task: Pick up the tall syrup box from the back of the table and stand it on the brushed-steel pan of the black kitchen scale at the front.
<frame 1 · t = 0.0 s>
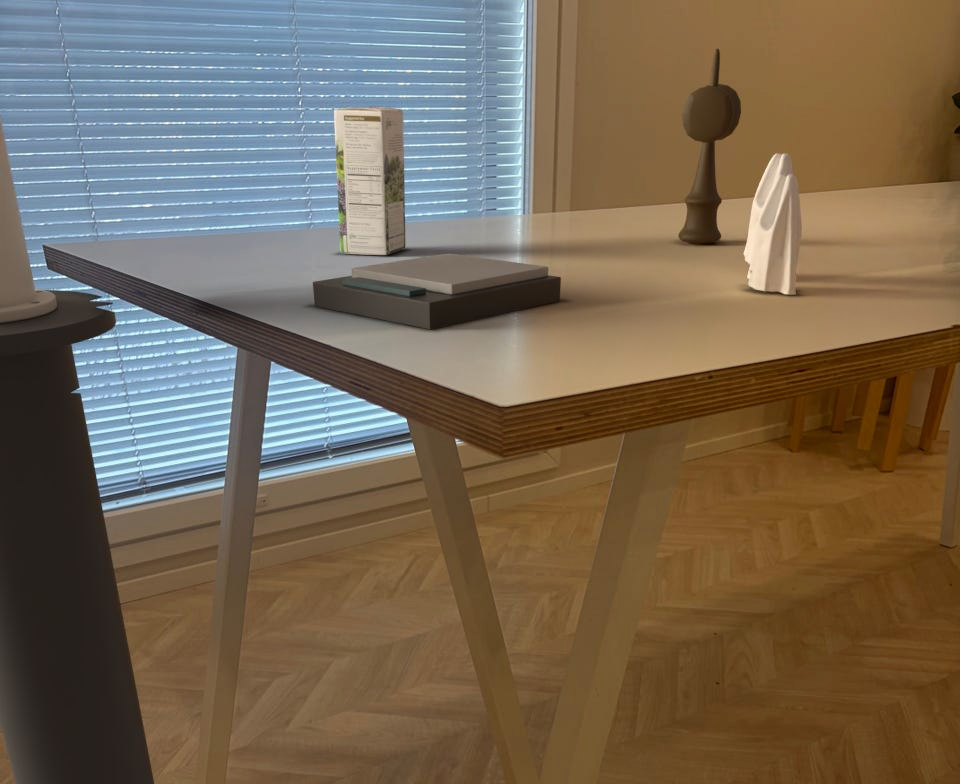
scale: (438, 303, 88), on the table
syrup box: (374, 253, 116), on the table
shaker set: (767, 285, 97), on the table
kendama: (698, 244, 122), on the table
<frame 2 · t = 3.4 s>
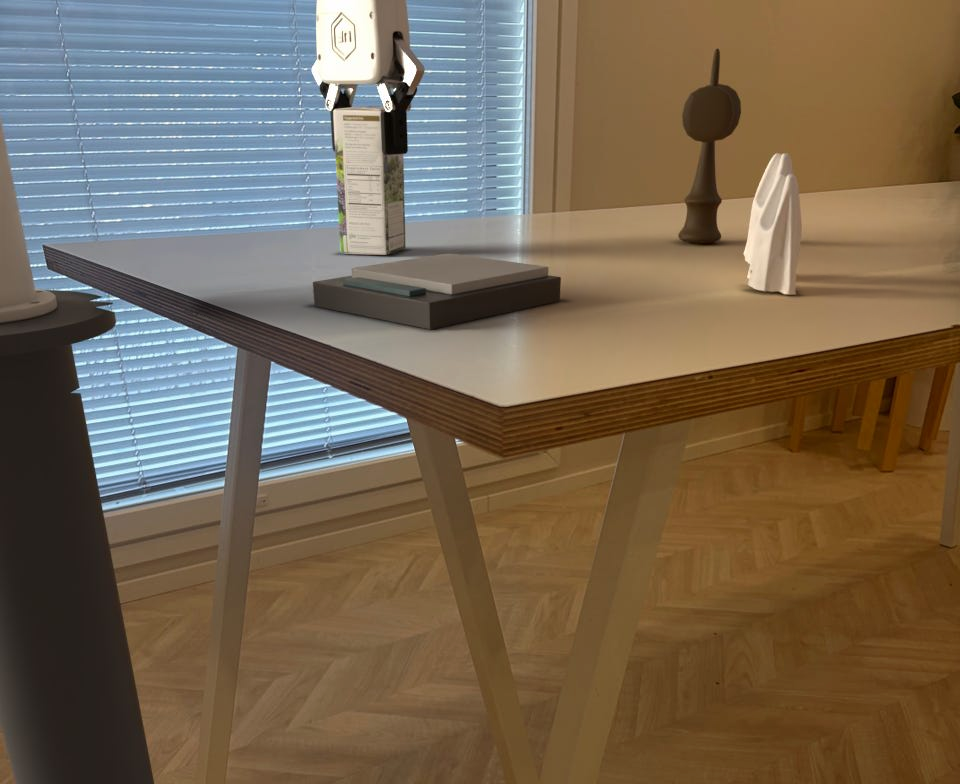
hand: (369, 151, 111), 10 cm above the table, tool pointing down, fingers closed on syrup box, 7 cm apart
syrup box: (374, 253, 116), on the table, touching gripper
everything else where it was.
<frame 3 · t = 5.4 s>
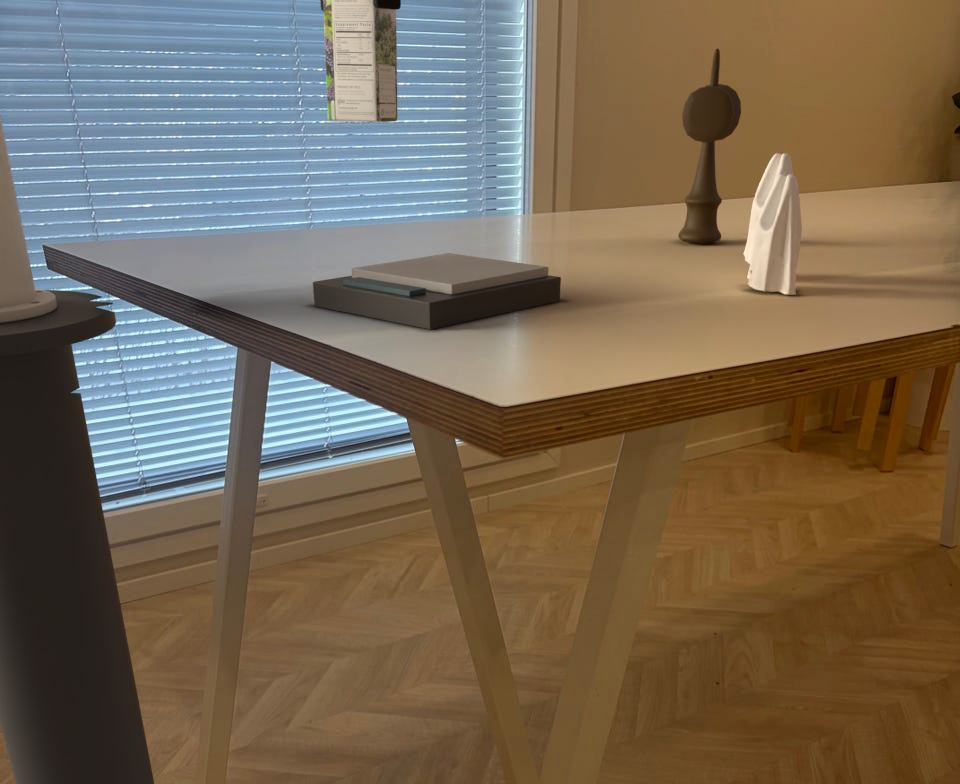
hand: (360, 8, 104), 23 cm above the table, tool pointing down, fingers closed on syrup box, 7 cm apart
syrup box: (364, 124, 109), point 13 cm above the table, touching gripper
everything else where it was.
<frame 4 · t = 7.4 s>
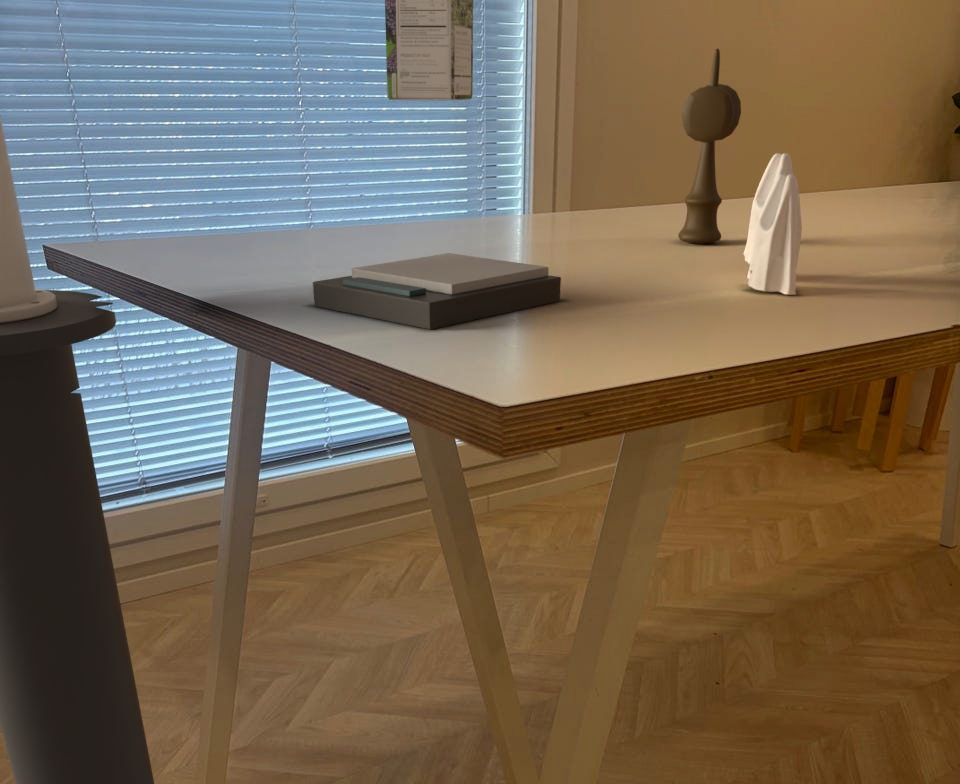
syrup box: (432, 103, 86), point 15 cm above the table, touching gripper
everything else where it was.
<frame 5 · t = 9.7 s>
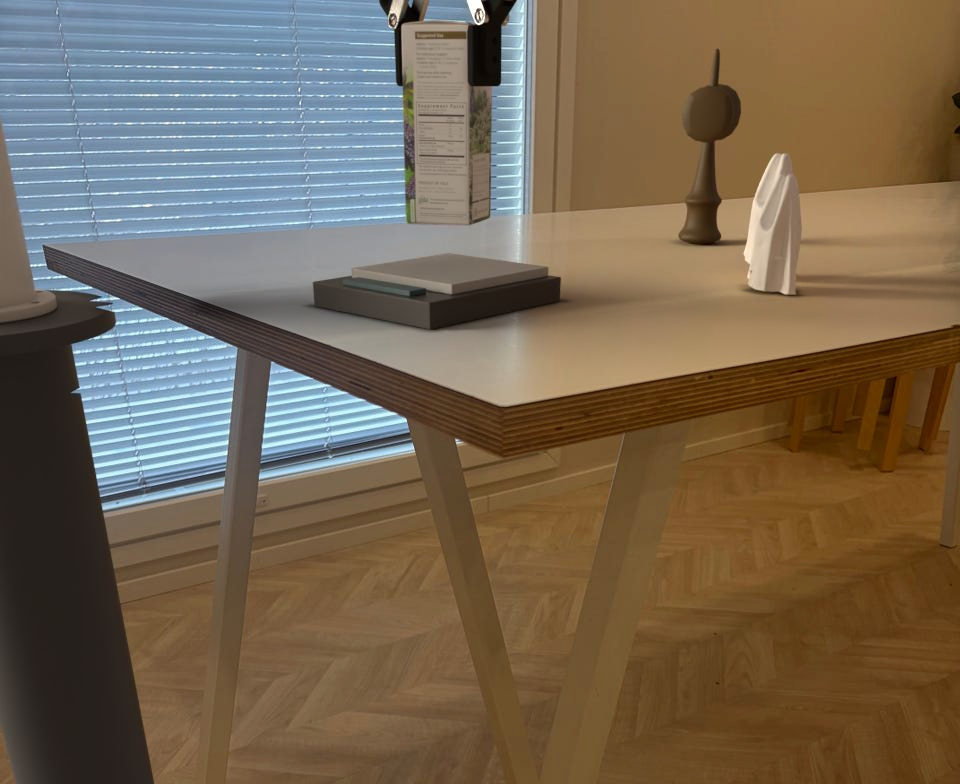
hand: (447, 84, 81), 17 cm above the table, tool pointing down, fingers closed on syrup box, 7 cm apart
syrup box: (450, 225, 86), point 6 cm above the table, touching gripper
everything else where it was.
when the fingers open (13 cm above the table, at t = 11.3 s): syrup box stays where it is, resting on scale.
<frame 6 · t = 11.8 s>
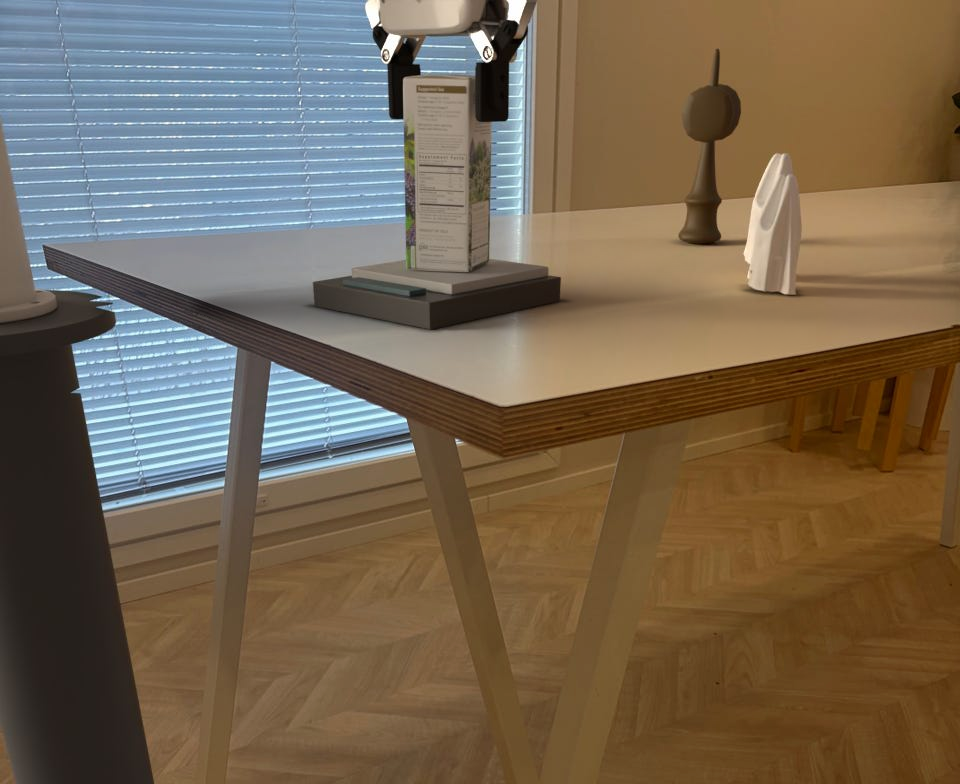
hand: (447, 120, 83), 14 cm above the table, tool pointing down, fingers open, 9 cm apart
syrup box: (449, 269, 88), point 3 cm above the table, touching scale
everything else where it was.
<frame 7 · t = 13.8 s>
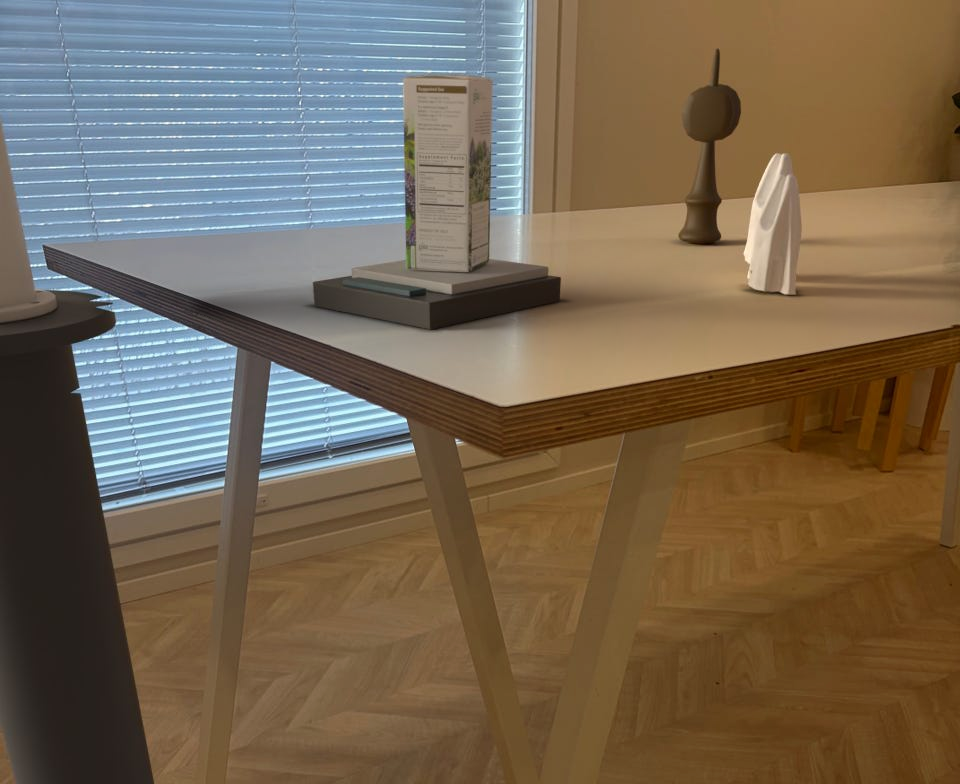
nothing on the table moved.
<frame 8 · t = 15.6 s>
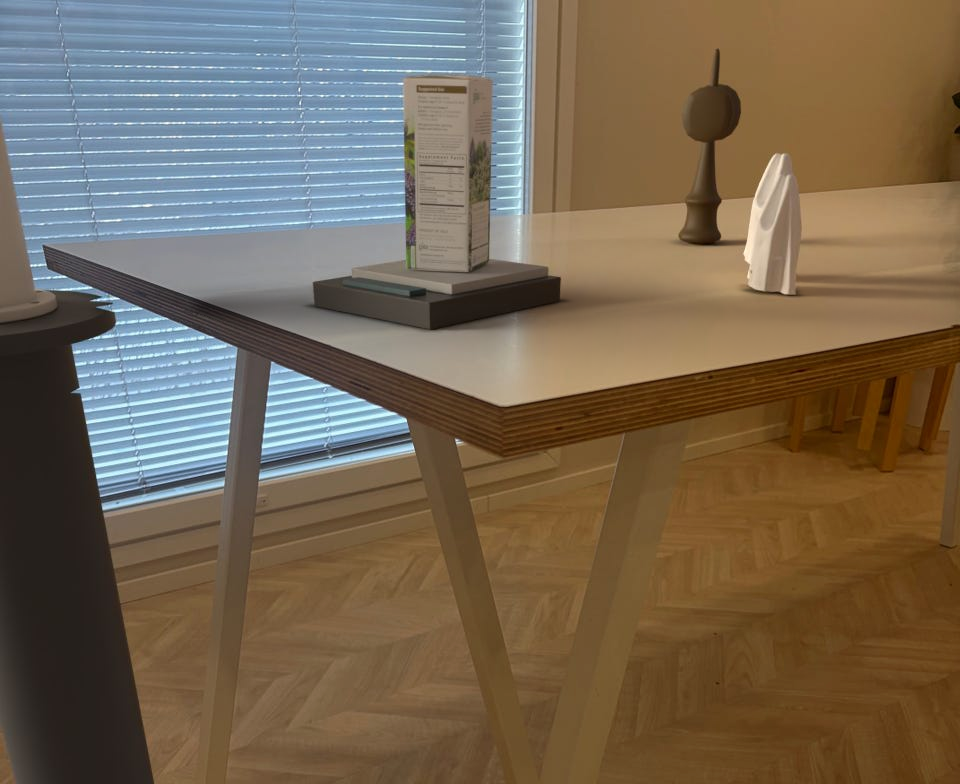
nothing on the table moved.
at the end: syrup box inside the target area on the scale (0.1 cm from its centre), point 2.6 cm above the scale's base; syrup box tilted 0°; the gripper is holding nothing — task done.
